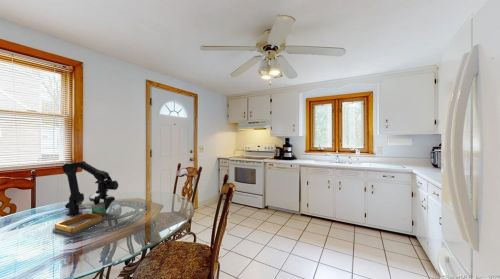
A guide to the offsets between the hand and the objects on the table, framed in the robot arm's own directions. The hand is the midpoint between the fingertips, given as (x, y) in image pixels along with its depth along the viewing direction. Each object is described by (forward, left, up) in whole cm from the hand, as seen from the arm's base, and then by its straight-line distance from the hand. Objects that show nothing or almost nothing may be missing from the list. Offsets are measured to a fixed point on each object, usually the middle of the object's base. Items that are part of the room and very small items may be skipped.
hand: (101, 209), depth 151 cm
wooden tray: (+4, -18, -5) cm, 19 cm away
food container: (0, 0, -5) cm, 5 cm away
